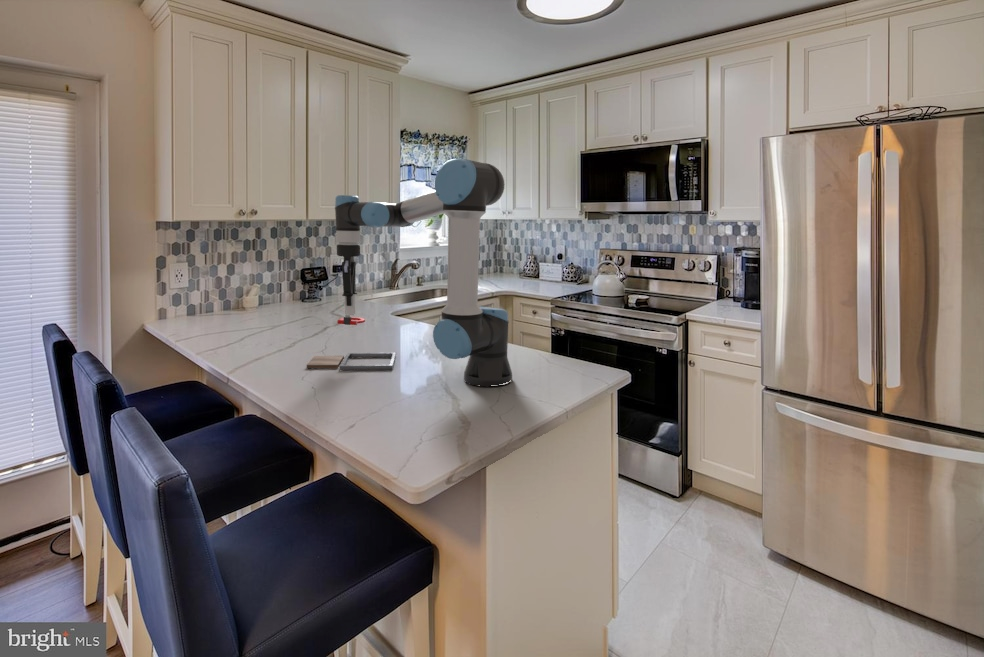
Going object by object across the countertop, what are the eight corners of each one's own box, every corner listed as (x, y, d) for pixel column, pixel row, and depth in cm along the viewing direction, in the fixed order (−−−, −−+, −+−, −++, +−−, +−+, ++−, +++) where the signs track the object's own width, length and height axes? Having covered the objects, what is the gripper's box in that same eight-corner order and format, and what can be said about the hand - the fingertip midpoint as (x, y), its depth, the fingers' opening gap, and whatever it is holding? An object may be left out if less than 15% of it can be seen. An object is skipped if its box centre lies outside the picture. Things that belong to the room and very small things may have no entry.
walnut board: (337, 368, 172) (337, 364, 172) (306, 368, 171) (306, 365, 171) (343, 358, 184) (343, 355, 184) (314, 359, 183) (314, 355, 183)
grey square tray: (392, 369, 172) (392, 365, 172) (339, 370, 170) (339, 366, 170) (395, 356, 188) (395, 352, 188) (347, 357, 187) (347, 352, 186)
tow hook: (346, 319, 185) (334, 324, 176) (345, 283, 182) (334, 286, 173) (368, 321, 184) (358, 326, 175) (368, 284, 181) (358, 287, 172)
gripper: (340, 242, 177) (343, 310, 182) (332, 244, 163) (334, 318, 168) (363, 243, 178) (364, 310, 183) (356, 245, 164) (358, 318, 169)
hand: (350, 314), depth 175 cm, fingers closed on tow hook, 2 cm apart
